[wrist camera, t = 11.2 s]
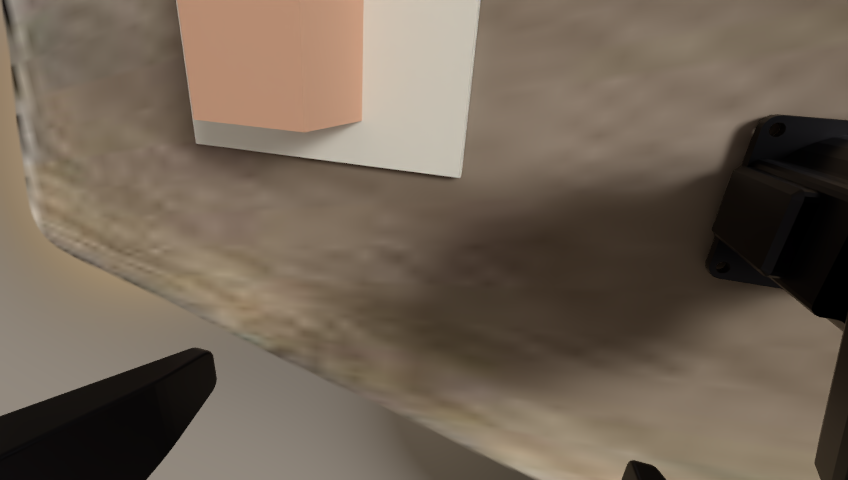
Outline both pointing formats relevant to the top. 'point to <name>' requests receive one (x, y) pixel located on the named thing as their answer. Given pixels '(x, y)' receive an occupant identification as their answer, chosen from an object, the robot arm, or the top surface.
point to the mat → (390, 94)
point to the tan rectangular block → (274, 62)
